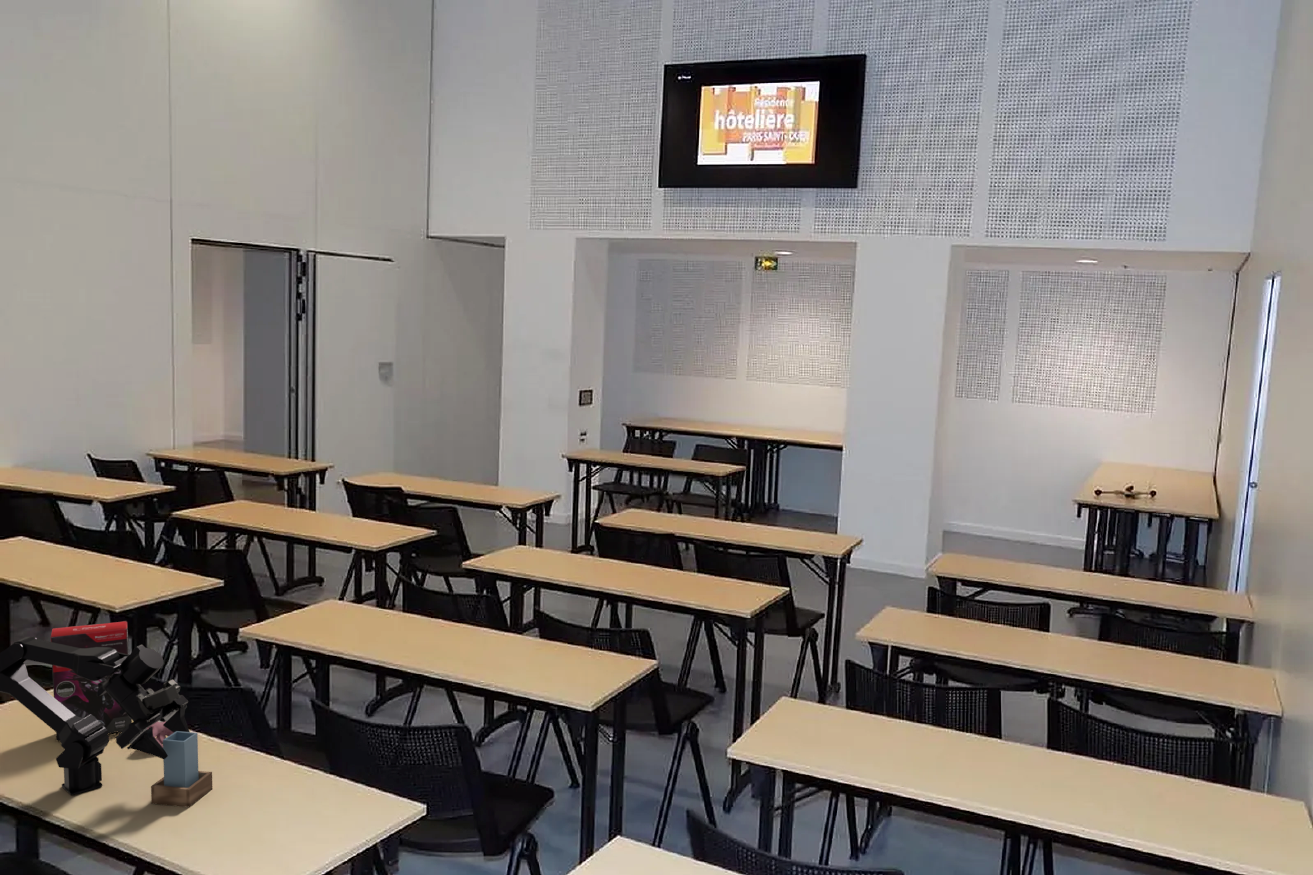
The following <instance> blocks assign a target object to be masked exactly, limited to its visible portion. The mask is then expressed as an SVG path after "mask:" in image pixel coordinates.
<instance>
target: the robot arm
mask: <svg viewBox="0 0 1313 875" xmlns="http://www.w3.org/2000/svg"><path fill="white" fill-rule="evenodd" d="M163 658H164V657H163V656H162V655H161V654H160V652H159V651H156V650H154V649H153V648H150V647H145V646H144V645H143V644H139V645H137V646H136V647H134V648H133V650H131V653H129V655H128V654H124V653H119V652H117V650H115V649H113V648H110V647H94V648H77V647H72V646H67V645H62V644H58V643H53V642H51V641H47V640H44V639H43V640H42V639H39V638H37V637H34V636H25V637H24V638H21V639H19V640H17V641H14V642H13V643H12V644H10V646H8V647H7V648H6V649H4V650H2V651H0V693H5V694H8V695H10V696H11V697H13V698H14V699H15V700H16V701H17V702H19V703H20V705H22V706H24V707H25V708H26V709H27V710H28V711H29V712H31V713H32V714H33V715H35V716H36V717H37V718H39V720H41V722H44V724H46V725H47V726H48V727H49V728H50V729H51V730H53V731H54V732H55V734H56V733H57V734H58V735H59V738H60V741H59V742H60V745H61V747H62V748H63V751H62V752H61V753H60V754H59V755H58V756H57V757H56V758H55V760H56V764H57V767H58V768H59V769H60V768H62V769H63V778H64V780H63V781H64V783H62V784H61V788H63V789H64V790H65V792H67V793H68V794H69V795H70V796H75V795H78V794H82V793H85V792H88V791H91V790H95V789H99V788H101V787H103V783H102V778H103V775H102V773H103V772H102V763H101V762H99V761H100V760H99V757H98V756H101V755H102V754H103V753H104V750H105V748H106V747H107V746H108V744H109V741H110V736H109V734H110V733H109V732H108V730H107V729H106V728H105V727H103V726H105V724H103V723H101V722H99V721H98V720H97V719H96V718H95V717H94V716H93V715H91V714H90V715H88V716H86V717H85V718H81V717H78V716H76V715H75V714H73V713H72V712H71V711H70V710H68V709H67V708H66V707H65V706H64V705H62V704H61V703H60V702H59V701H58V700H56V699H55V698H54V695H52V694H50V693H49V692H48V691H47V690H45V689H44V688H43V687H42V686H41V685H39V684H38V683H37V682H36V681H34V680H33V679H32V678H31V677H30V676H29V673H28V669H27V665H26V664H25V662H27V661H32V662H37V663H41V664H46V665H50V666H52V665H55V666H59V667H64V668H68V669H71V670H73V671H74V672H75V673H76V674H77V675H78V676H80V677H83V678H85V679H88V680H91V681H98V680H100V679H102V678H104V677H106V676H109V675H111V674H113V673H115V672H117V671H118V670H120V671H121V672H120V673H116V674H113V675H112V676H111V677H110V678H109V679H108V680H107V681H106V680H104V681H102V682H100V683H98V690H97V696H101V695H102V694H104V693H106V692H107V693H108V694H109V695H110V696H111V697H112V698H113V699H114V700H115V701H116V703H117V704H118V705H119V706H120V707H121V708H122V709H121V710H120V711H119V713H120V714H121V715H124V714H125V713H126V714H127V715H128V716H129V717H130V718H131V719H132V723H130V724H129V725H128V726H127V727H126V728H125V729H124V730H123V731H121V732H119V733H118V734H117V736H115V743H116V745H117V746H118V747H119V748H120V749H121V750H123V749H125V748H126V749H127V750H131V749H132V750H135V751H139V752H142V753H144V754H148V755H151V756H153V757H156V758H159V759H162V760H163V759H166V758H167V757H168V755H167V753H166V752H165V750H164V749H163V748H162V746H161V745H160V744H159V743H158V741H157V740H156V739H155V738H156V737H155V738H154V736H153V729H152V727H150V726H151V725H153V724H155V723H156V722H158V721H162V722H165V721H166V722H165V723H164V724H163V726H165V727H166V728H168V729H169V730H171V731H172V732H173V733H174V732H176V731H181V732H191V731H190V728H189V726H188V724H187V721H186V718H185V714H186V713H185V711H186V709H187V708H188V706H187V704H188V703H189V700H188V699H187V698H186V697H185V696H184V695H183V694H179V692H180V691H181V686H180V685H179V684H178V683H177V682H176V681H175V680H174V679H169V680H168V681H166V682H164V683H162V688H160V689H159V690H156V691H154V690H153V689H152V688H150V687H148V688H146V689H144V687H143V686H142V685H143V684H146V682H148V681H149V680H150V678H152V677H153V676H154V675H155V674H156V673H157V672H158V671H159V670H160V669H161V668H162V667H163V665H164V659H163ZM148 727H150V728H149V729H147V728H148Z"/></svg>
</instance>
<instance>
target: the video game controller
mask: <svg viewBox="0 0 1313 875" xmlns="http://www.w3.org/2000/svg"><path fill="white" fill-rule="evenodd" d="M165 722H166V721H165ZM165 722H162V721H158V722H156V723H155V724H153V725H151V726H150V727H152V729H153V736H154V738H155V739H156V740H157V741H158V743H159V744H160V745H161V746H162V748H163V740H164V739H165V738H167V737H168V736H170V735H171V734H173V732H172V731H171V730H169V729H168V728H166V727H165V726H163V724H164V723H165ZM150 727H148V728H147V729H149V728H150Z"/></svg>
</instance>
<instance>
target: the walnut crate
mask: <svg viewBox="0 0 1313 875" xmlns="http://www.w3.org/2000/svg"><path fill="white" fill-rule="evenodd" d="M198 777H199V780H198V781H197V782H195V783H194V784H193V785H191V786H190V787H189V788H183V787H172V786H164V776H163V777H162V778H160V779H159V780H157V781H156V782H155V783H153V784H152V785H151V786H150V794H151V795H150V797H151V804H152V805H160V806H161V805H162V806H172V807H180V808H181V807H184V808H191V807H192V806H193V805H195V804H196V803H197V802H198V801H200V800H201V799H202V798H203V797H205V796H206V795H207V794H208V793H209V792H211V791H212V790H213V771H205V770H198Z"/></svg>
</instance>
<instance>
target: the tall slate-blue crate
mask: <svg viewBox="0 0 1313 875" xmlns="http://www.w3.org/2000/svg"><path fill="white" fill-rule="evenodd" d="M162 745H163V749H164V750H165V752H166V753H167V755H168V757H167V758H166V759H162V762H163V777H164V786H172V787H183V788H189V787H190V786H191V785H193V784H194V783H195V782H197V781H198V780H199V777H198V771H199V747H198V745H199V740H198V732H192V731H190V732H181V731H176V732H174V733H173V734H171V735H170V736H166V738H165V739H164V740H163V743H162Z"/></svg>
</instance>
